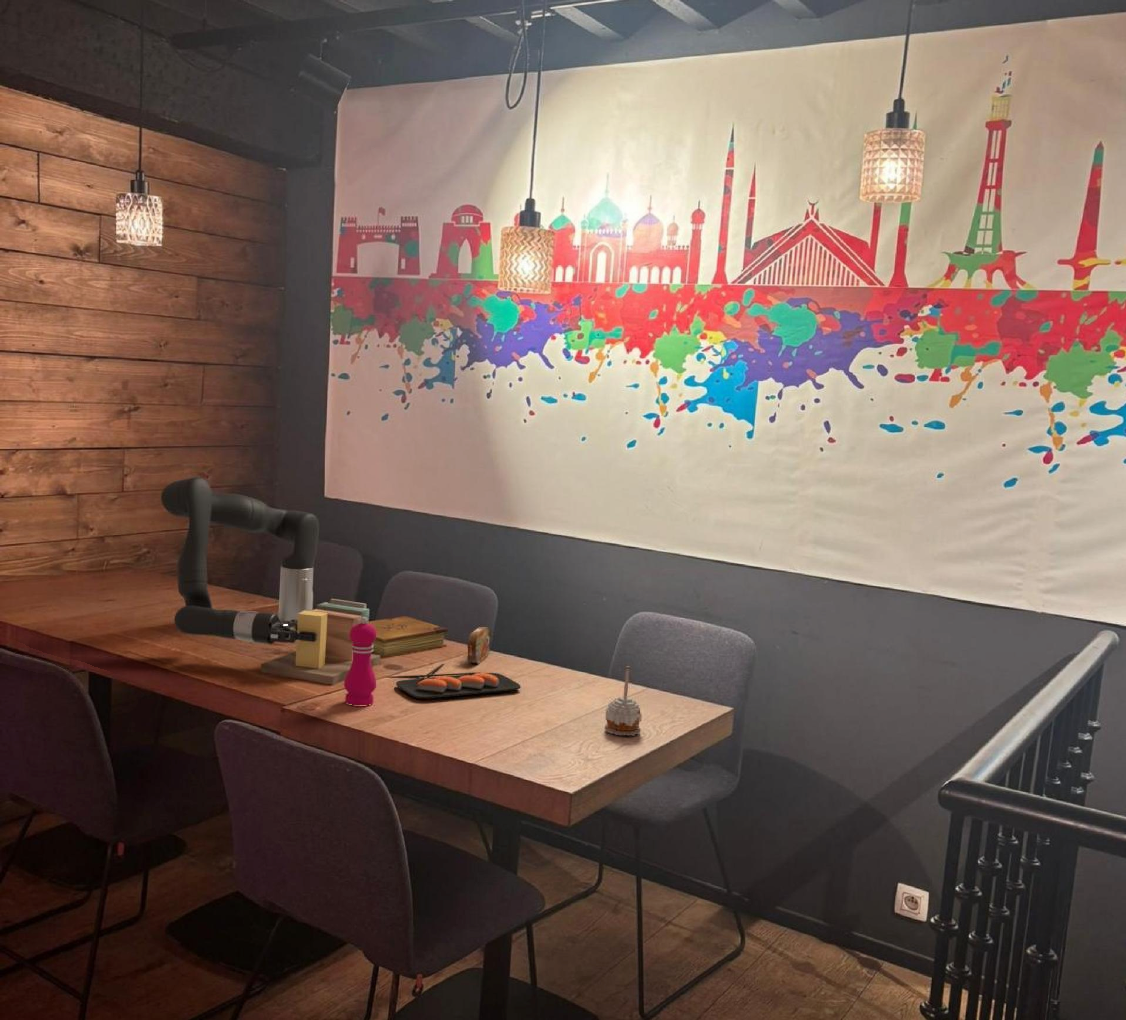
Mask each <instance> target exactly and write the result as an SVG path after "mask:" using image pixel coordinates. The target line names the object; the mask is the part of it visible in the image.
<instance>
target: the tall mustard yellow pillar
mask: <svg viewBox="0 0 1126 1020" xmlns="http://www.w3.org/2000/svg"><path fill="white" fill-rule="evenodd" d="M297 630H299V631H306V632H315V633H316V634H317V636H316V641H315V642H309V641H301V640H300V641H298V642H297V641H296V647H295V651H296V665H295V666H304V667H312V668H320V667H322V666H323V665H325V650H326V632H327V613H322V612H313V611H302V612H300V613H298V625H297Z"/></svg>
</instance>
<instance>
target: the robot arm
mask: <svg viewBox="0 0 1126 1020" xmlns="http://www.w3.org/2000/svg"><path fill="white" fill-rule="evenodd" d="M160 494H161V495H160V501H161V504H162V506H163V507H164V509H165V510H166V511H167V512H168V513H170V514H171V515H173V516H175V517H179V518H188V529H187V534H186V537H185V540H184V542H183V545H182V547H181V551H180V553H179V556H178V559H177V570H176V571H177V588H178V589H177V590H178V593H179V595H180V596H181V597H182V598H183V599H184V604H185V606H183V607H180V608H179V609H178V610H177V612H176V613H175V615H174V620H173V621H174V625H175V627H176V628H177V630H178V631H180V632H181V633H184V634H189V635H200V636H214V637H219V638H225V639H232V640H238V641H239V640H240V641H242V642H243V641H244V642H248V643H250V642H251V643H258V644H264V645H265V644H267V645H272V644H274V643H276V642H278V643H279V642H280V643H281V642H282V643H292V644H294V643H295V642H296V643H297V642H298V641H300V640H301V641H309V642H315V641H316V636H317V634H316V633H315V632H306V631H299V630H297V625H298V613H300V612H302V611H311V610H313V605H314V604H313V603H314V591H313V588H314V587H313V585H314V566H315V560H316V558H317V554H318V547H319V546H318V545H319V537H320V524H319V519H318V517H317V516H316V515H314V514H313V513H310V512H305V511H299V510H294V509H293V510H291V509H290V510H289V509H288V510H287V509H279V508H273V507H271V506H268V505H267V504H266V503H264V502H263V501H261V500H259V499H257V498H253V497H250V496H247V495H243V494H238V493H237V494H235V493H213V491H212V488H211V486H210V484H209V482H208V481H207V480H205V479H204V478H202V477H199V476H194V477H188V478H184V479H179V480H176V481H173V482H171V483H169V484H167V485H166V486H165V487H164V488H163V490H162V492H161V493H160ZM211 523H214V524H216V525H217V524H218V525H222V526H226V527H228V528H229V527H230V528H232V529H235V530H240V531H243V532H250V533H264V534H268V535H270V536H273V537H275V538H278V539H280V540H282V541H285V542H287V543H293V544H294V545H293V550H292V552H291V553H288V554H284V555H283V556H282V557H281V559H280V560H281V561H280V574H279V575H280V578H279V579H280V580H279V595H278V596H279V599H278V614H276V613H270V612H264V611H263V612H262V611H254V610H253V611H252V610H245V611H244V610H243V611H242V610H234V609H214V608H213V605H212V601H211V596H210V594H209V590H208V573H207V572H208V569H207V567H208V566H207V565H208V562H207V552H208V543H209V541H208V540H209V533H210V526H211V525H210V524H211ZM326 633H327V632H326Z"/></svg>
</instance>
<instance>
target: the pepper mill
mask: <svg viewBox="0 0 1126 1020" xmlns="http://www.w3.org/2000/svg"><path fill="white" fill-rule="evenodd" d="M367 622H368V619H367V618H366V617H362V618H361V619H360V623H359V624H356V625H354V626H353V627H352V629H351V631H350V639H351V641H352V642H353V644H352V645H351V647H352V648H351V651H352V652H353V662H352V665H351V667H350V670H349V671H348V673H347V675H346V678H345V680H344V682H343V687H344V689H345V690H346V691H347V693H346V694H345V701H344V703H345V704H346V703H348V704H352V705H369V704H371V705H373V704H372V703H374V695H373V692H374V691H375V689H376V688H377V679H376V675H375V673H374V670H373V667H372V666H371V652H373V647H374V646H373V644H372V643H373V642H374V641H375V639H376V630H375V628H374V627H373V626H372V625H370V624H367ZM348 704H347V705H348ZM369 706H370V705H369Z"/></svg>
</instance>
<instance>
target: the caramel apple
mask: <svg viewBox="0 0 1126 1020" xmlns="http://www.w3.org/2000/svg"><path fill="white" fill-rule="evenodd" d="M630 669H631V668H630V666H629V665H627V666H626V667H625V675H624V687H623V688H624V690H623V696H620V697H619V696H618V698H617V697H616V698H614V700H613V699H612V700H611V701H610V702H609V703H608V704H607V705H608V706H607V707H606V709H605V719H604V720H605V721H606V723H605V726H604V730H605V731H606V732H608V733H609V734H614V735H616V736H623V735H627V736H629V735H632V736H636V735H635V734H637V735H639V734H640V733H641V730H642V729H641V728H640V723H641V722H642V713H641V707H640V705H639V704H638V702H637V700H635V699H633V698H631V697H629V696H628V693H629V692H628V691H629V678H630Z"/></svg>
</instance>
